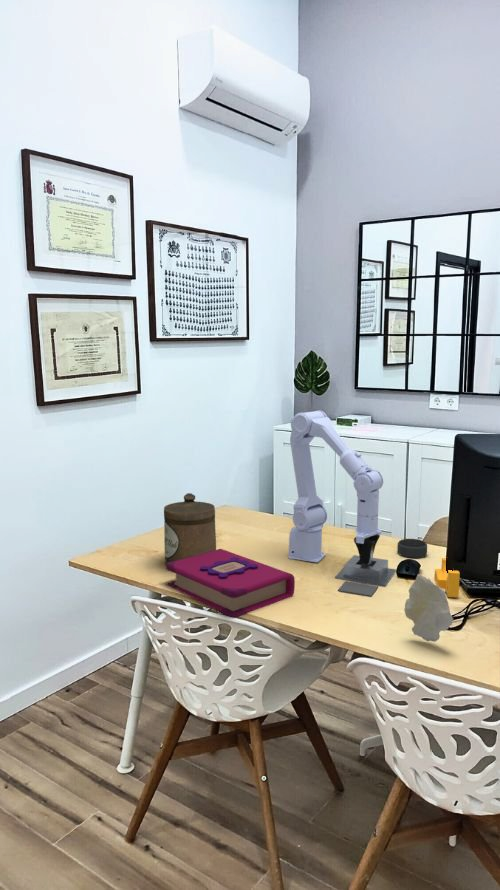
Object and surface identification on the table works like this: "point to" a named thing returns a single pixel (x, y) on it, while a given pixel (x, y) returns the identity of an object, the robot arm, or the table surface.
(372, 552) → the orange and grey block
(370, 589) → the mat
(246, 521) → the table surface
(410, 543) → the smart speaker
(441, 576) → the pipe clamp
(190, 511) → the wooden container
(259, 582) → the book
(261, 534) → the table surface
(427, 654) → the table surface
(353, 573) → the block
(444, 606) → the stone tool
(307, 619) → the table surface
